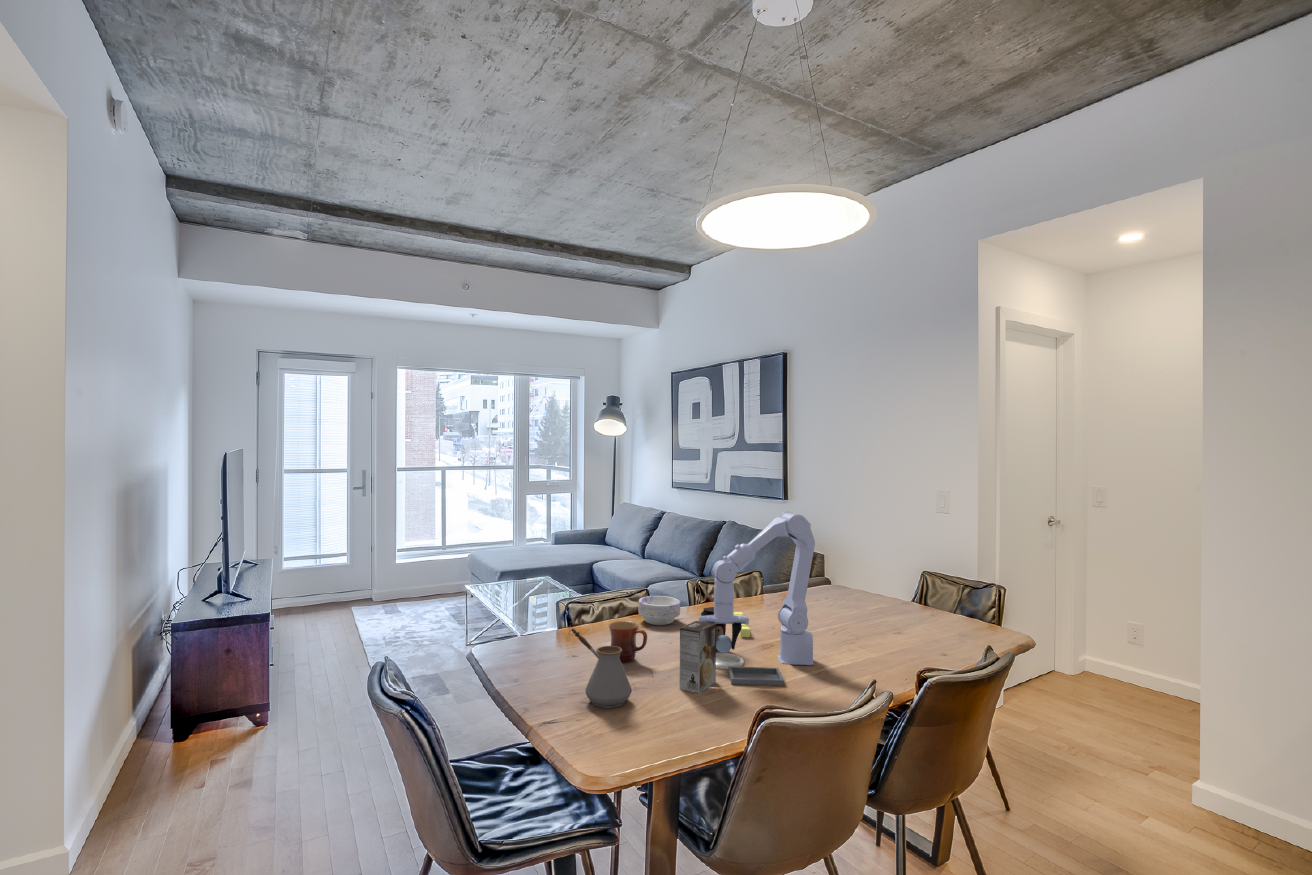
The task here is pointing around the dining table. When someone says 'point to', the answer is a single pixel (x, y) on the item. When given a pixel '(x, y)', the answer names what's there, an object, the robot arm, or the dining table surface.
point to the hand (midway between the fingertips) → (723, 648)
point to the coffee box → (697, 656)
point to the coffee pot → (607, 677)
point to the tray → (755, 676)
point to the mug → (626, 639)
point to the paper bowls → (659, 609)
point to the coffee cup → (719, 627)
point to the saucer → (728, 660)
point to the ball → (723, 643)
